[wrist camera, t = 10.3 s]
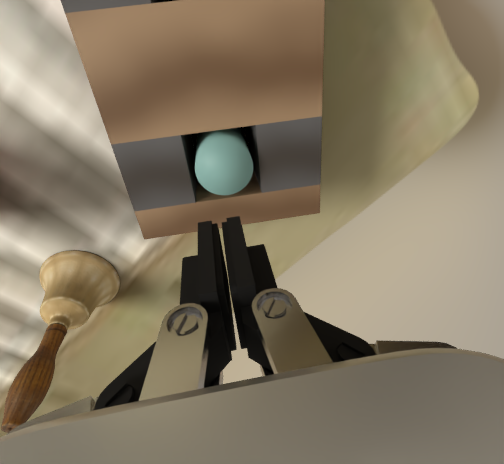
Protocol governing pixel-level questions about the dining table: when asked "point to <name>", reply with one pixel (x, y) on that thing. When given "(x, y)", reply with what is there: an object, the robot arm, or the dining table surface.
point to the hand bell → (59, 323)
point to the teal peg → (223, 161)
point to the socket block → (207, 101)
